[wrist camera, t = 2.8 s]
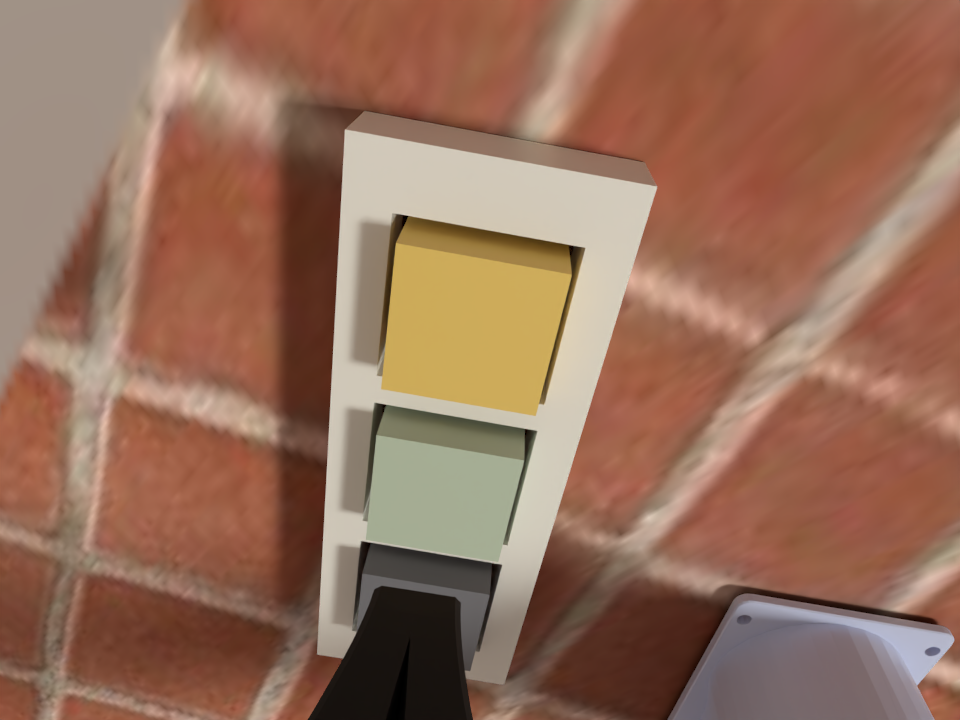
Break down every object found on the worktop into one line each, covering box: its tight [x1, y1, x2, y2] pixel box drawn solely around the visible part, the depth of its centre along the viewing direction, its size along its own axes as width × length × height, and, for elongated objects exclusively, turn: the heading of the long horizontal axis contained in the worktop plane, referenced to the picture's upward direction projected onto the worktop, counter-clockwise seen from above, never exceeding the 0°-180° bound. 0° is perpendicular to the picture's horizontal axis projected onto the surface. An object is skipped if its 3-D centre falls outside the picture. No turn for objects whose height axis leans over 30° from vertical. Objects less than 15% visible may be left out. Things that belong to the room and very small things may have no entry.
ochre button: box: [381, 216, 572, 416], centre depth 17 cm, size 4×4×2 cm
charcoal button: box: [356, 543, 492, 671], centre depth 23 cm, size 4×4×2 cm
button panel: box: [317, 111, 657, 685], centre depth 21 cm, size 19×7×2 cm, turn 171°
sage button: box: [366, 405, 525, 562], centre depth 20 cm, size 4×4×2 cm
